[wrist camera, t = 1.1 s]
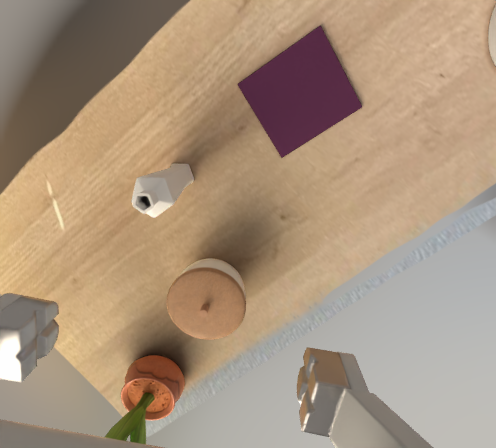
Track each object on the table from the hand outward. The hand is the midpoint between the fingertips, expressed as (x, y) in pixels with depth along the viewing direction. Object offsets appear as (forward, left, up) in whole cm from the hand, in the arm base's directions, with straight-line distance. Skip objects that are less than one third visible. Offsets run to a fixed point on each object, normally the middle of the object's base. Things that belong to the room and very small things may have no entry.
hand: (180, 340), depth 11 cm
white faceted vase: (+9, -4, -37) cm, 38 cm away
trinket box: (+14, +12, -37) cm, 41 cm away
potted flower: (+33, +23, -37) cm, 55 cm away
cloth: (-11, -4, -37) cm, 39 cm away
